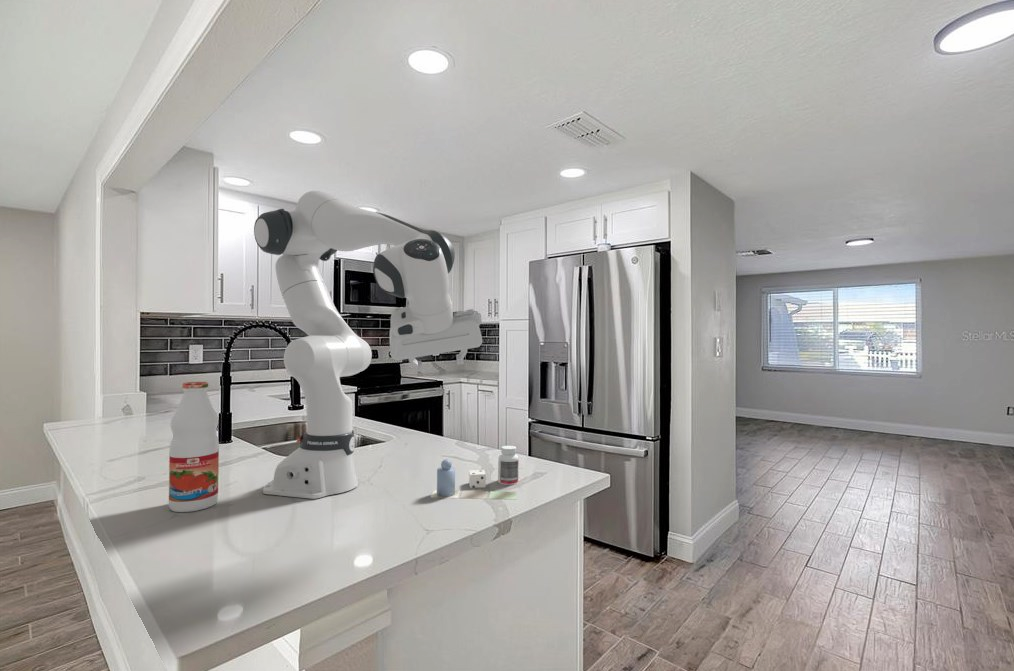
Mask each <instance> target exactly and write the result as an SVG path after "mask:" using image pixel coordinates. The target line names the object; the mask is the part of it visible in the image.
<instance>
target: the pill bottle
mask: <svg viewBox="0 0 1014 671" xmlns="http://www.w3.org/2000/svg"><path fill="white" fill-rule="evenodd" d="M500 450H501V451H500V452H501V454H499V456H498V466H497V467H498V469H497V470H498V475H497V476H498V477H497V479H498V483H499V484H501V485H506V486H507V485H509V486H510V485H517V484H519V464H520V463H519V456H518V455H517V454H516V453H517V447H516V446H515V445H503V446H501V449H500Z"/></svg>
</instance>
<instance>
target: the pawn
mask: <svg viewBox="0 0 1014 671" xmlns="http://www.w3.org/2000/svg"><path fill="white" fill-rule="evenodd" d="M452 466H453V465H452V461H451V460H450V459H443V460H442V461H441V463H440V467H438V468H437V470H436V471H437V472H436V490H437V495H438V496H441V497H450V496H453V495H455V490H456V468H455V467H452Z"/></svg>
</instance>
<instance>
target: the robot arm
mask: <svg viewBox="0 0 1014 671" xmlns="http://www.w3.org/2000/svg"><path fill="white" fill-rule="evenodd" d="M253 235H254V240H255V242H256V244H257V246H258V247H259V248H260V250H261V251H262V252H264V253H266V254H269V255H276V256H279V257H278V258H277V260H276V262H275V274H276V280H277V282H278V283H277V284H278V287H279V290H280V293H281V296H282V299H283V302H284V303H285V308H286V309H287V311H288V314H289V316H290V319H291V321H292V323H293V324H294V326H295V327H297V328H298V329H299V330H301V331H303V333H305V334H306V335H307V336H303V337H300V338H297V339H293V340H292V341H290V342H289V343H288V345H287V346H286V348H285V350H284V354H283V364H284V367H285V369H286V371H287V373H288V374H289V375H290V376H291V377H293V378H294V379H295V380H296V381H297V382H298V385H299V386H300V387H301V390H302V392H303V396H304V399H305V405H306V431H305V432H304V433H303V434H301V435H300V436H298V437H296V443H299V447H298V448H297V449H296V450H294V451H293V452H292V453H290V454H289V455H287V457H285V458H283V460H281V461H280V462H279V463H277V464H278V465H276V467H275V469H274V473H273V479H272V480H271V481H269V482H267V483H266V484H265V485H264V486H263V488H262V493H263V494H265V495H271V496H283V497H291V498H292V497H293V498H302V499H312V500H314V499H315V500H316V499H319V498H324V497H327V496H333V495H337V494H342V493H345V492H348V491H351V490H353V489H355V488H356V487H357V486H358V485H359V480H358V477H357V473H356V468H355V461H354V451H355V444H356V443H355V442H356V441H355V431H354V429H353V421H354V420H353V419H354V418H353V414H354V413H353V411H354V406H353V405H354V404H353V400H352V398H351V397H350V396H348V395H347V394H345V392H344V389H343V388H342V385H341V384H342V383H341V379H340V378H343V377H351V376H354V375H357V374H360V372H363V371H365V370H366V369H368V367H369V366H370V365H371V362H372V357H373V353H372V349H371V346H370V345H369V343H368V342H367V341H366V340H365V339H363V338H361V337H360V336H359V335H358V334H357V333H355V332H354V331H353V330H352V328H351V326H349V325H348V324H347V322H346V321H345V320H344V318H343V317H342V316H341V314H340V312H339V311H338V309H337V307H336V306H335V303H334V302H333V301H334V300H332V299H333V298H332V296H331V294H330V293H329V289H328V288H327V285H326V283H325V280H324V279H323V277H322V274H321V271H320V269H319V262H320V260H321V261H323V262H327V261H329V260H330V259H331V257H332V255H334V254H336V253H337V252H338V251H339V252H344V253H345V252H353V251H357V250H361V249H364V248H365V249H366V248H370V247H374V246H378V245H390V246H391V245H392V247H390V248H388V249H386V250H383V251H382V252H379V253H378V254H376V256H375V258H374V261H373V266H372V273H373V277H374V280H375V283H376V285H377V286H378V288H379V289H380V290H381V291H382V292H384V293H387V294H389V295H392V296H394V297H396V298H399V299H400V298H401V299H404V298H405V299H407V301H408V305H407V306H405V307H402V308H400V309H398V310H396V311H393V312H392V313H391V316H390V328H389V351H390V357H391V359H393V360H394V361H396V362H397V361H402V360H408V361H409V363H410V364H411V365H413V366H414V367H415V372H420V371H423V364H422V360H417V359H416V358H420V357H426V356H432V355H439V354H445V353H451V352H457V351H460V352H459V353H458V354H455V357H456V364H457V365H461V364H462V365H463V364H465V363H464V361H465V360H464V358H465V357H466V356H467V353H468V350H470V349H475V348H479V347H480V346H482V344H483V337H482V332H481V329H480V325H481V323H482V315H481V313H480V311H477V310H474V309H473V308H471V309H470V308H469V309H467V310H458V311H453V304H452V298H451V295H450V293H449V289H450V288H449V287H450V278H449V274H450V273H451V271H452V269H453V266H454V263H455V259H456V258H455V257H456V256H455V255H456V254H455V248H454V246H453V244H452V242H451V241H450V239H448V238H447V237H446V236H445V235H444V234H442V233H441V232H439V231H436V230H433V229H431V230H430V229H429V230H426V229H422V228H419V227H417V226H415V225H412V224H410V223H408V222H406V221H403V220H401V219H398V218H396V217H394V216H392V215H387V214H386V213H381V212H377V211H371V210H367V209H363V208H360V207H357V206H354V205H351V204H349V203H347V202H345V201H344V200H342V199H341V198H339V197H338V196H335V195H332V194H330V193H327V192H324V191H321V190H310V191H308V192H305V193H303V194H302V195H301V196H300V198H299V199H298V200H297V203H296V208H295V209H294V210H285V209H284V208H279V209H277V210H271V211H267V212H266V211H265V212H263V213H261V214H260V215H259V216H258V217H257V218H256V220H255V222H254V226H253ZM280 255H281V256H280Z"/></svg>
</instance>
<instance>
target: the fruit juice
mask: <svg viewBox="0 0 1014 671" xmlns="http://www.w3.org/2000/svg"><path fill="white" fill-rule="evenodd" d="M181 388H182V391H183V394H182V397H181V399H180V402H179V404H178V407H177V409H176V411H175V412H174V414H173V415H172V417H171V420H170V430H171V432H172V439H171V440H170V443H169V452H168V453H169V457H168V458H169V461H168V462H169V465H168V466H169V467H168V468H169V469H168V470H169V471H168V474H169V475H168V507H169V510H170V511H172V512H174V513H191V512H197V511H201V510H205V509H208V508H211V507H213V506H214V505H216V504H217V502H218V500H219V472H220V471H219V470H220V467H219V466H220V465H219V463H220V462H219V460H220V459H219V458H220V457H219V456H220V455H219V454H220V443H219V437H218V435H217V428H218V425H219V416H218V413H217V412H216V410H215V409H214V407H213V405H212V402H211V400H210V396H209V395H208V392H207V391H208V389H209V382H208V381H190V382H189V381H186V382H183V383H182V387H181Z"/></svg>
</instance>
